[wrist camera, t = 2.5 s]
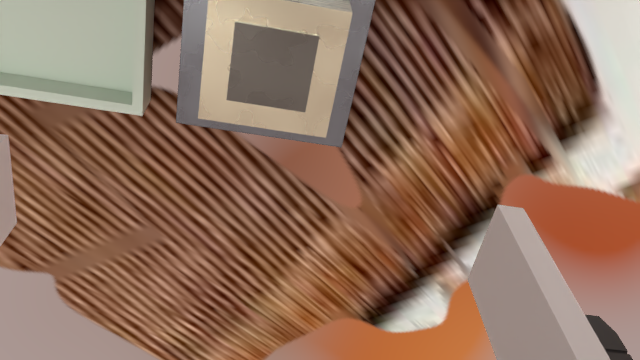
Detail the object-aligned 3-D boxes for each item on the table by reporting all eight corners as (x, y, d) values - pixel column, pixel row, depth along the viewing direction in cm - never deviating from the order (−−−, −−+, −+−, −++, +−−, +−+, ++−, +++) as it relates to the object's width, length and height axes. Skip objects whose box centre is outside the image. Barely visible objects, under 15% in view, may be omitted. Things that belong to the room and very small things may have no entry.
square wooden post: (220, 52, 35) (197, 119, 27) (231, -54, 32) (208, -13, 24) (320, 68, 36) (325, 139, 28) (340, -34, 33) (352, 13, 25)
